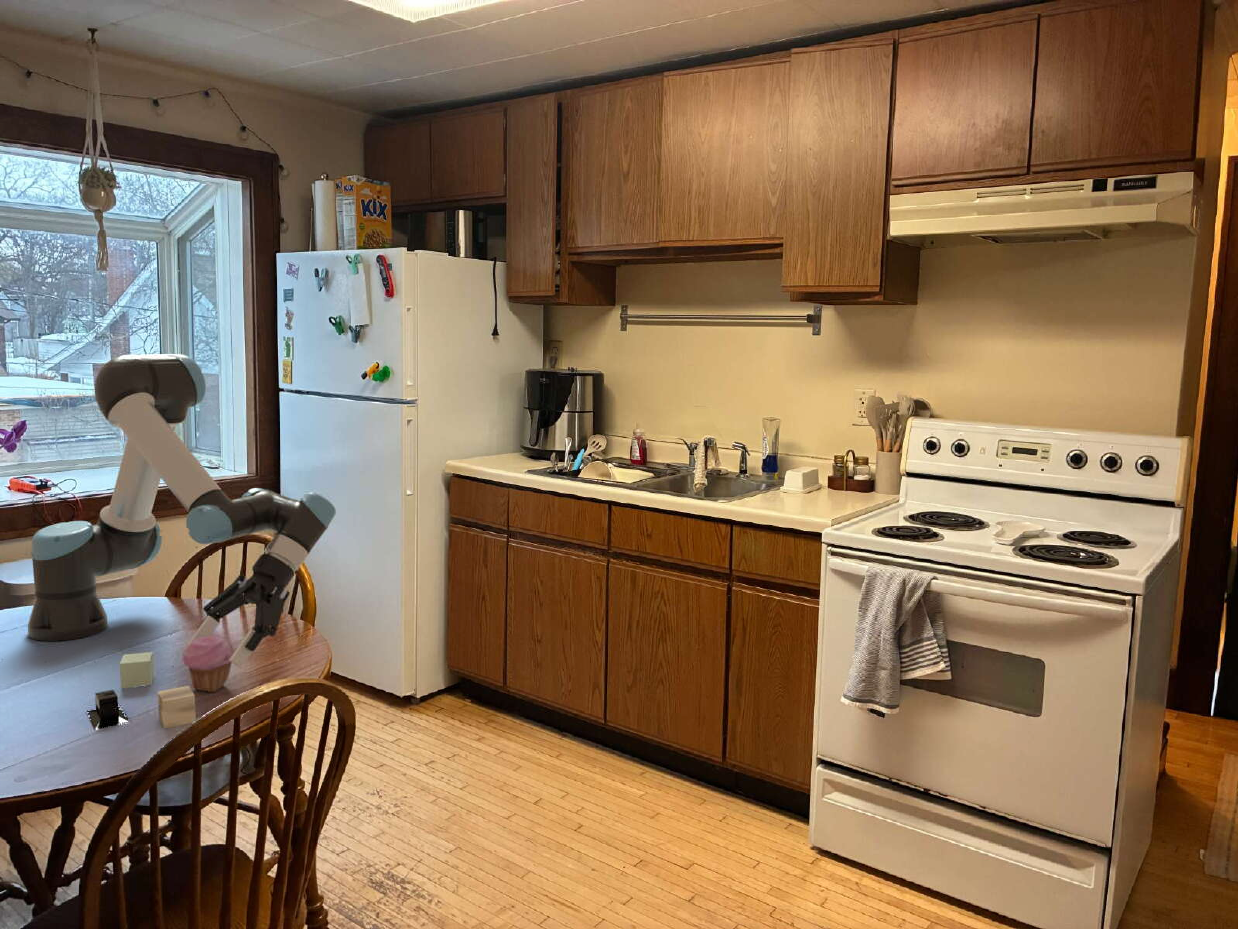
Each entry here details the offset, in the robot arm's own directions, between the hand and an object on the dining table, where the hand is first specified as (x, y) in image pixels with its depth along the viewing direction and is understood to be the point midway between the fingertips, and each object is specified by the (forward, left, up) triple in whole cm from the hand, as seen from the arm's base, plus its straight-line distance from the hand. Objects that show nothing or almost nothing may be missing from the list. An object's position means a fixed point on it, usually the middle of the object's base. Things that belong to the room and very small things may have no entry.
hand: (213, 656), depth 175 cm
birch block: (+11, -9, -6) cm, 16 cm away
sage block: (-11, -12, -6) cm, 17 cm away
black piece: (+4, -18, -7) cm, 20 cm away
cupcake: (-1, -1, -7) cm, 7 cm away
